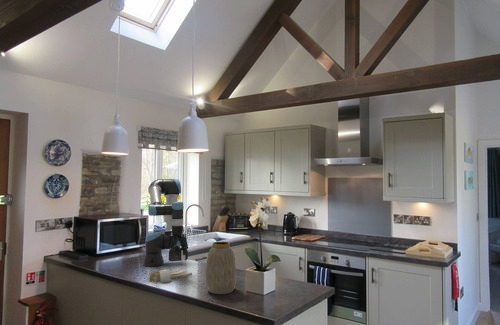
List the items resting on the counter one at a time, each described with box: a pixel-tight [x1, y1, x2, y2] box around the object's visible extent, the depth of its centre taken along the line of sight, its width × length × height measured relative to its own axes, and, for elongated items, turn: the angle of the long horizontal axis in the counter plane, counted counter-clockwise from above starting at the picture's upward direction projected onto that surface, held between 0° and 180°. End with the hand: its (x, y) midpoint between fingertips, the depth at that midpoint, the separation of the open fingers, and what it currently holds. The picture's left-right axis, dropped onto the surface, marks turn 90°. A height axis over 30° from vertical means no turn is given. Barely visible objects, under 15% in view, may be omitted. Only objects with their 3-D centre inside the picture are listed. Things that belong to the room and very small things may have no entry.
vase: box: [205, 241, 237, 295], centre depth 207 cm, size 17×17×27 cm
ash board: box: [170, 269, 193, 280], centre depth 240 cm, size 12×15×1 cm
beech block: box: [148, 271, 160, 283], centre depth 228 cm, size 5×5×5 cm
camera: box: [168, 245, 189, 262], centre depth 240 cm, size 13×10×10 cm
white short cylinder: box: [159, 268, 171, 284], centre depth 226 cm, size 6×6×7 cm
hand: (177, 259), depth 240 cm, fingers closed on camera, 10 cm apart
